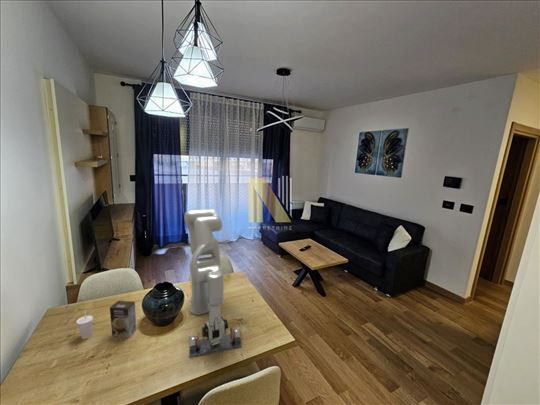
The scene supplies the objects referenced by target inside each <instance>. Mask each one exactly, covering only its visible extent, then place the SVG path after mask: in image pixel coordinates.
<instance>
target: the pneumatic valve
mask: <svg viewBox="0 0 540 405" xmlns="http://www.w3.org/2000/svg"><path fill="white" fill-rule="evenodd" d="M203 323H204V324H203V326H202V327H201V334H202V337H203V338H207V340H210V344H212V343H213V344H212V345H213V346H214V345H216V344H219V343H220V340H221V336H222V335H226V333H227V330H228V329H229V323H228V320H227V319H226V318H223V316H221V323H220V325H219V337H216V338H212V330H213V326H210V322H209V320H208V321H205V322H203ZM214 323H215V322H214ZM214 328H215V325H214Z"/></svg>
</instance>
